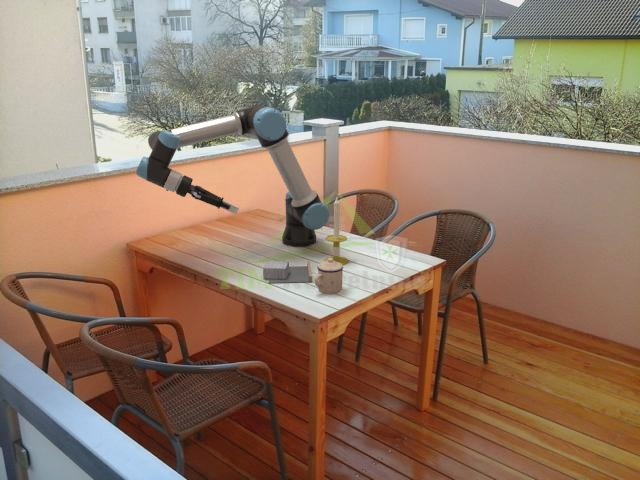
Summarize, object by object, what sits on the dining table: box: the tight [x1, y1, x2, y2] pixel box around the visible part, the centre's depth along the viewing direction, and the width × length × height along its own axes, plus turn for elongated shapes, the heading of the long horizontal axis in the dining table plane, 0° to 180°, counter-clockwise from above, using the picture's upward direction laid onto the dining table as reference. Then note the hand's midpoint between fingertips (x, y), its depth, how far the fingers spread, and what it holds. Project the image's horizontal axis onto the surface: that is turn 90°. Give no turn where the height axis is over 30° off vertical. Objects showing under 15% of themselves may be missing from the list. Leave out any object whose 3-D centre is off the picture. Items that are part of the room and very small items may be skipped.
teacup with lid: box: [314, 257, 344, 295], centre depth 208 cm, size 12×9×12 cm
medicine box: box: [262, 260, 290, 280], centre depth 222 cm, size 8×4×9 cm
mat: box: [268, 260, 313, 285], centre depth 224 cm, size 16×16×2 cm
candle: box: [323, 197, 349, 266], centre depth 235 cm, size 10×10×27 cm
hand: (237, 210), depth 224 cm, fingers closed
